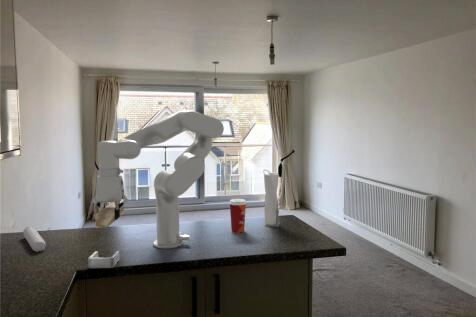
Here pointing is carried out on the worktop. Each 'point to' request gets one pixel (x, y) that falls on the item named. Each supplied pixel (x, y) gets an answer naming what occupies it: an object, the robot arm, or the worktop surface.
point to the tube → (34, 239)
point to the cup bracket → (103, 261)
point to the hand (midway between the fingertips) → (110, 218)
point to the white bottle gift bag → (271, 199)
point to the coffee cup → (237, 214)
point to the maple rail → (107, 216)
